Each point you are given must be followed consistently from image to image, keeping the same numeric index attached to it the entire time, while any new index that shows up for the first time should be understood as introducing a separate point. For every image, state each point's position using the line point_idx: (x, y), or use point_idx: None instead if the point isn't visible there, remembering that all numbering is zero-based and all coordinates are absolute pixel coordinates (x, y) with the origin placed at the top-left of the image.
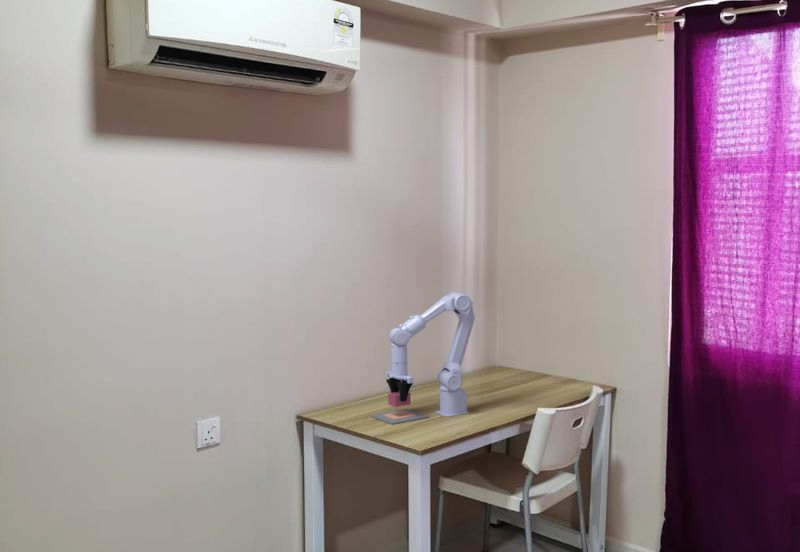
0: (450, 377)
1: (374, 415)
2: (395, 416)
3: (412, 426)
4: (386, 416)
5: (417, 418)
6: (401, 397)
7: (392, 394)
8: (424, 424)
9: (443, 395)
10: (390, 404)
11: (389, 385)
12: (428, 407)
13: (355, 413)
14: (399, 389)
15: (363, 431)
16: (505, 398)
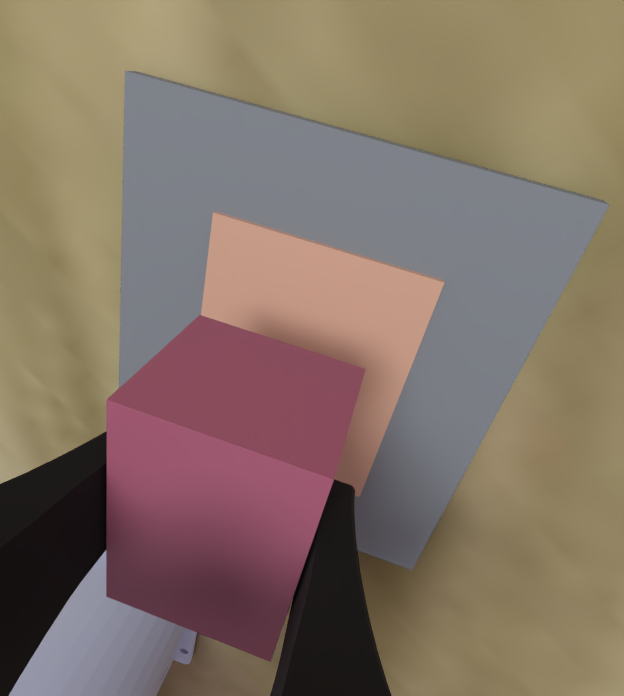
0: None
1: (534, 218)
2: (285, 305)
3: (8, 184)
4: (369, 259)
5: (119, 369)
6: (94, 440)
7: (217, 451)
8: (12, 298)
9: (27, 681)
10: (311, 357)
11: (346, 684)
12: None
13: None
14: (3, 527)
15: None
16: None
